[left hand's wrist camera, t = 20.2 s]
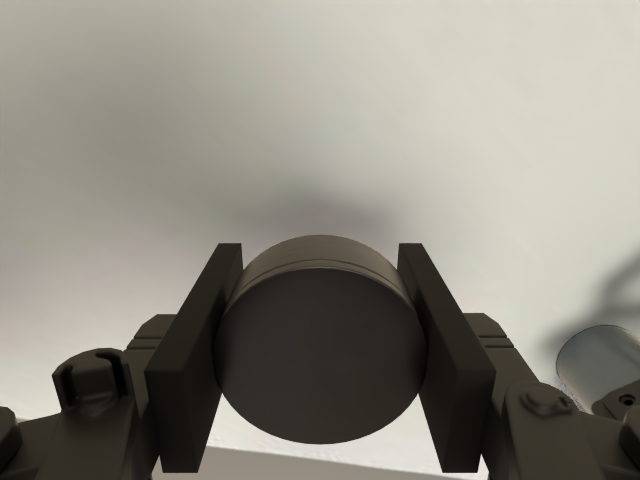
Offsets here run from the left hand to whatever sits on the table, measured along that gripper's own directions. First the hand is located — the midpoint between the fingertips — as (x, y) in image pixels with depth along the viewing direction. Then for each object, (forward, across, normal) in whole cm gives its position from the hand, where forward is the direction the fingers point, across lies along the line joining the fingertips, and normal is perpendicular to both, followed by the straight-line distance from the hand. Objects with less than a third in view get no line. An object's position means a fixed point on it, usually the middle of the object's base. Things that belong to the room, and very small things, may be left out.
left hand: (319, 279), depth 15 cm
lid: (-4, 0, 0) cm, 4 cm away
